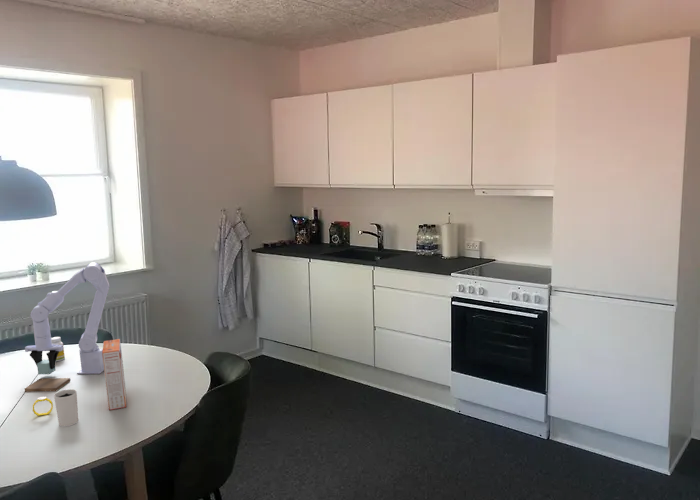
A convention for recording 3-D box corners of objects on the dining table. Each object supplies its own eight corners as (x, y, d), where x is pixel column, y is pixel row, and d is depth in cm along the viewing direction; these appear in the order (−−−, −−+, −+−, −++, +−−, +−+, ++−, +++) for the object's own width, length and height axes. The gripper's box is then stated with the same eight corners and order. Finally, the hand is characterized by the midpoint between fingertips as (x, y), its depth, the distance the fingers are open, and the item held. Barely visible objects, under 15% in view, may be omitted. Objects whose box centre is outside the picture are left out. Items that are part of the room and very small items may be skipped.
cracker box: (108, 396, 211) (102, 340, 208) (126, 393, 213) (121, 338, 210) (107, 411, 198) (101, 352, 195) (126, 407, 200) (120, 349, 197)
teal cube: (55, 370, 234) (54, 359, 234) (49, 374, 230) (48, 363, 229) (44, 370, 235) (43, 359, 234) (38, 374, 230) (37, 363, 230)
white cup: (54, 422, 191) (50, 393, 189) (75, 416, 195) (72, 387, 194) (61, 429, 186) (58, 399, 184) (83, 422, 190) (79, 393, 189)
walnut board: (70, 381, 227) (69, 378, 227) (56, 391, 217) (55, 388, 217) (40, 381, 228) (40, 378, 228) (24, 391, 218) (24, 388, 218)
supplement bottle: (67, 357, 255) (64, 336, 254) (60, 361, 250) (57, 339, 248) (55, 357, 256) (53, 336, 254) (48, 361, 250) (45, 340, 249)
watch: (33, 418, 195) (31, 401, 194) (33, 415, 197) (31, 398, 196) (53, 414, 197) (51, 397, 196) (53, 411, 200) (51, 394, 199)
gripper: (65, 332, 233) (69, 364, 236) (30, 332, 234) (34, 365, 236) (56, 337, 226) (60, 370, 229) (20, 338, 227) (24, 371, 229)
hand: (46, 368), depth 232 cm, fingers closed on teal cube, 4 cm apart
